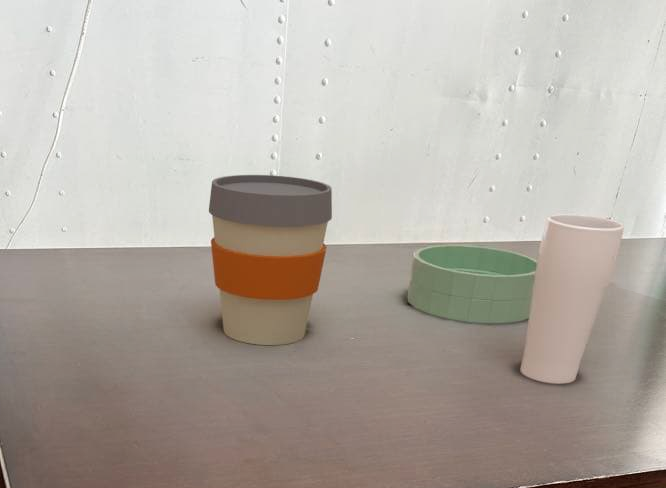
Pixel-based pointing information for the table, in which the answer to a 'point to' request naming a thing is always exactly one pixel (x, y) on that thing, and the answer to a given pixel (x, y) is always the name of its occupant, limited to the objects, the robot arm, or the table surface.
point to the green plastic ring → (472, 283)
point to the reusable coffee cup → (268, 253)
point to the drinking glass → (568, 293)
